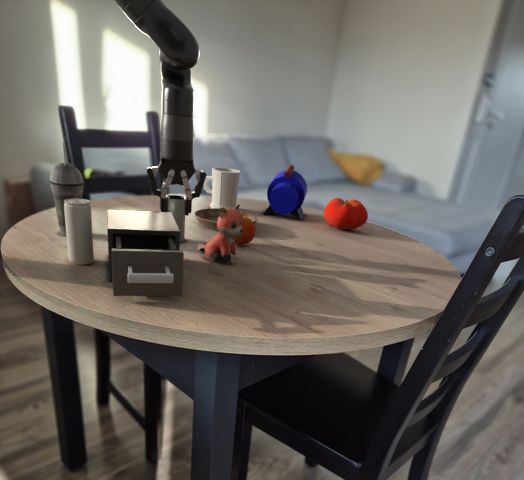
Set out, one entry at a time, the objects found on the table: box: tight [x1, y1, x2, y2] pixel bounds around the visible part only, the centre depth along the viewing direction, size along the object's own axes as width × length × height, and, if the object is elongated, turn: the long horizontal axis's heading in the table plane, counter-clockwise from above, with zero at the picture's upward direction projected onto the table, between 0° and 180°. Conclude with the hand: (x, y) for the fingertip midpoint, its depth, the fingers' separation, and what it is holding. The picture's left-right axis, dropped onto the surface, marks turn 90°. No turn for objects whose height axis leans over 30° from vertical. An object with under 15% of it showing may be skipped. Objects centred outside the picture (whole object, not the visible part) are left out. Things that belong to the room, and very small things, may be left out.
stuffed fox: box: [197, 204, 243, 265], centre depth 106 cm, size 8×11×12 cm
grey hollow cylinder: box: [166, 194, 186, 243], centre depth 115 cm, size 4×4×10 cm
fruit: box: [234, 211, 256, 246], centre depth 119 cm, size 7×7×8 cm
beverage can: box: [64, 198, 95, 266], centre depth 94 cm, size 5×5×12 cm
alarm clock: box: [263, 164, 308, 221], centre depth 153 cm, size 12×12×15 cm
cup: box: [203, 167, 241, 209], centre depth 151 cm, size 10×9×12 cm
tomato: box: [323, 197, 369, 231], centre depth 146 cm, size 14×13×9 cm
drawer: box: [112, 234, 185, 297], centre depth 84 cm, size 19×12×8 cm, turn 16°
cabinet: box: [106, 209, 181, 282], centre depth 95 cm, size 15×13×10 cm
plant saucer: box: [193, 207, 258, 231], centre depth 135 cm, size 18×18×3 cm
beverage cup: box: [49, 141, 85, 237], centre depth 109 cm, size 7×7×20 cm
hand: (175, 214), depth 115 cm, fingers closed on grey hollow cylinder, 4 cm apart
